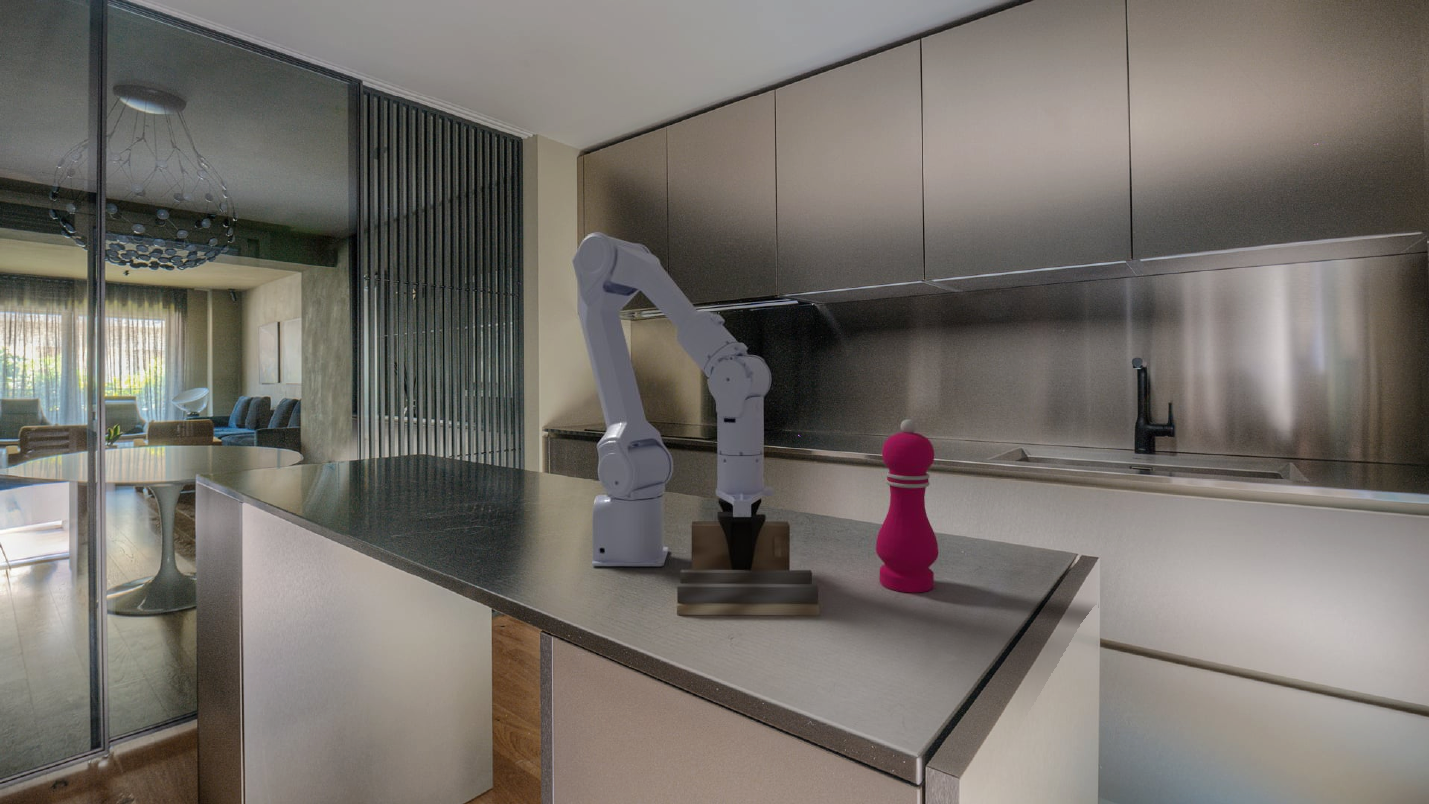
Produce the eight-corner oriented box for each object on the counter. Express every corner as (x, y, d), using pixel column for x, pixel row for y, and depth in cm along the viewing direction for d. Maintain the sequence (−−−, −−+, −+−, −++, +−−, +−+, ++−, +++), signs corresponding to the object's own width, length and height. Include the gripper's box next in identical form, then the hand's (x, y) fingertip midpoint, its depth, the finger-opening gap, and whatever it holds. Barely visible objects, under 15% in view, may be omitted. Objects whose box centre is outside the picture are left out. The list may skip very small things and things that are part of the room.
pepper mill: (942, 596, 72) (944, 422, 71) (876, 592, 74) (878, 421, 73) (933, 576, 79) (935, 417, 78) (873, 573, 81) (875, 416, 80)
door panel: (691, 583, 77) (691, 526, 77) (692, 576, 80) (692, 521, 80) (789, 583, 77) (789, 526, 77) (787, 576, 80) (787, 521, 80)
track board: (676, 614, 67) (676, 588, 67) (681, 591, 74) (681, 568, 74) (819, 615, 67) (819, 589, 66) (810, 592, 74) (810, 568, 73)
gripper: (777, 461, 71) (777, 581, 71) (768, 446, 85) (768, 545, 86) (714, 461, 71) (715, 580, 71) (716, 446, 85) (716, 545, 86)
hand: (740, 561), depth 79 cm, fingers open, 7 cm apart
